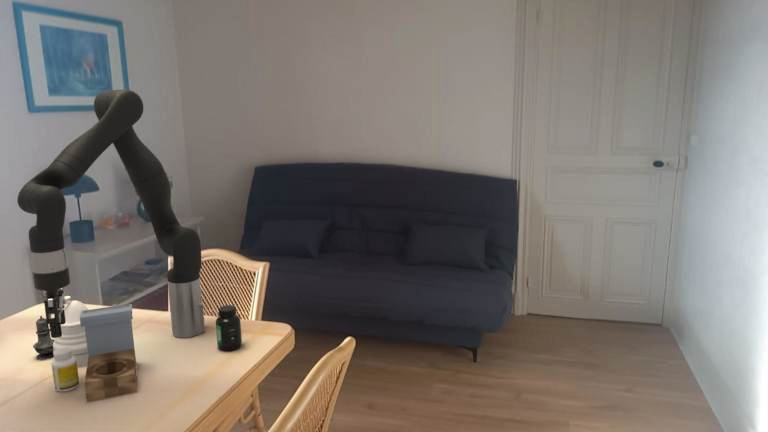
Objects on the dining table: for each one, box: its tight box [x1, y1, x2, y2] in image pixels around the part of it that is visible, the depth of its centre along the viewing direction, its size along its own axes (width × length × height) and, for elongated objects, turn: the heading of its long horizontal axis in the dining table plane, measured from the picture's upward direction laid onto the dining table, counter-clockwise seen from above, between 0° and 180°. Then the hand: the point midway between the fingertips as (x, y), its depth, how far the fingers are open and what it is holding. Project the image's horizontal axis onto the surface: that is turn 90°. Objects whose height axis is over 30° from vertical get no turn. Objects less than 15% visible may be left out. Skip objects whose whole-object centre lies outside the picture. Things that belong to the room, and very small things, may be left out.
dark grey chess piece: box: [32, 315, 55, 361], centre depth 157 cm, size 6×6×12 cm
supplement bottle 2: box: [215, 304, 243, 353], centre depth 162 cm, size 7×7×12 cm
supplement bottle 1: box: [51, 348, 80, 393], centre depth 141 cm, size 5×5×10 cm
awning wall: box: [80, 303, 137, 360], centre depth 148 cm, size 12×5×17 cm, turn 114°
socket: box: [84, 349, 138, 403], centre depth 143 cm, size 11×15×5 cm
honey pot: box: [53, 295, 90, 368], centre depth 156 cm, size 13×13×18 cm
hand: (58, 330), depth 138 cm, fingers open, 8 cm apart
